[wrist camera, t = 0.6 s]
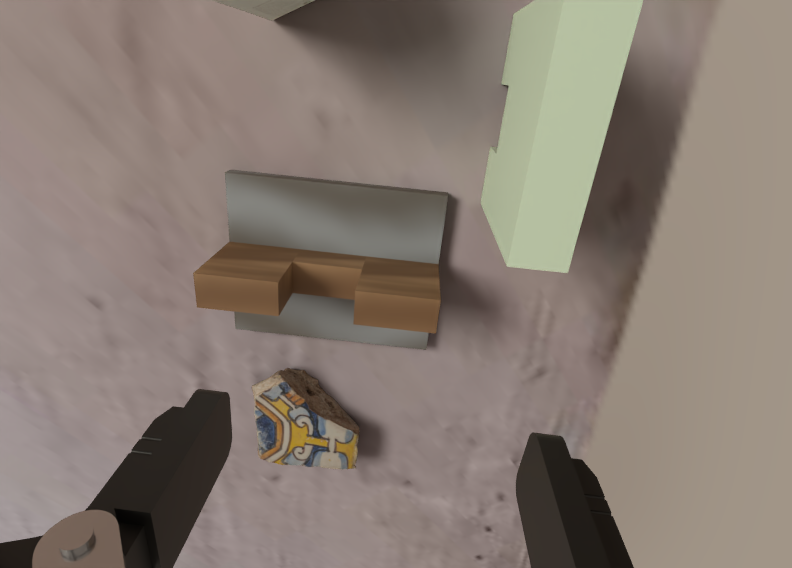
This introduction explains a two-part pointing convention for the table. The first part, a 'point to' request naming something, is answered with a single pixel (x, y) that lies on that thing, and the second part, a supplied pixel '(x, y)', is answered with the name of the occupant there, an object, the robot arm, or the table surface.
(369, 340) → the slotted wooden stand
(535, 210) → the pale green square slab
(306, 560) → the table surface
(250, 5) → the small box
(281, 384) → the ceramic tile fragment
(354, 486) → the table surface
